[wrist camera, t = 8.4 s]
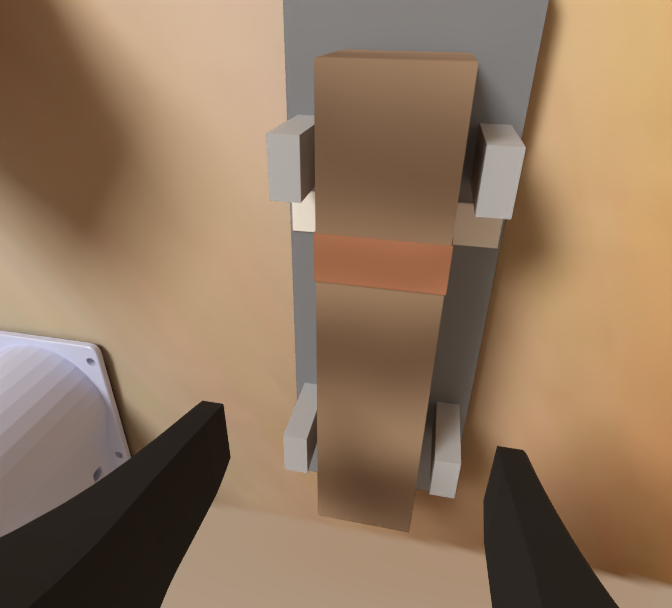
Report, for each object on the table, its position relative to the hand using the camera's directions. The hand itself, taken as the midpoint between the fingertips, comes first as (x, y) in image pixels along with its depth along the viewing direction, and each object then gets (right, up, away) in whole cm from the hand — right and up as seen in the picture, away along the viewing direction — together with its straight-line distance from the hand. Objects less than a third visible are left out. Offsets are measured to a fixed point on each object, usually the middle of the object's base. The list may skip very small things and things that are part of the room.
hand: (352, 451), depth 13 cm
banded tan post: (+2, +4, +7) cm, 8 cm away
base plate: (+2, +5, +8) cm, 9 cm away
